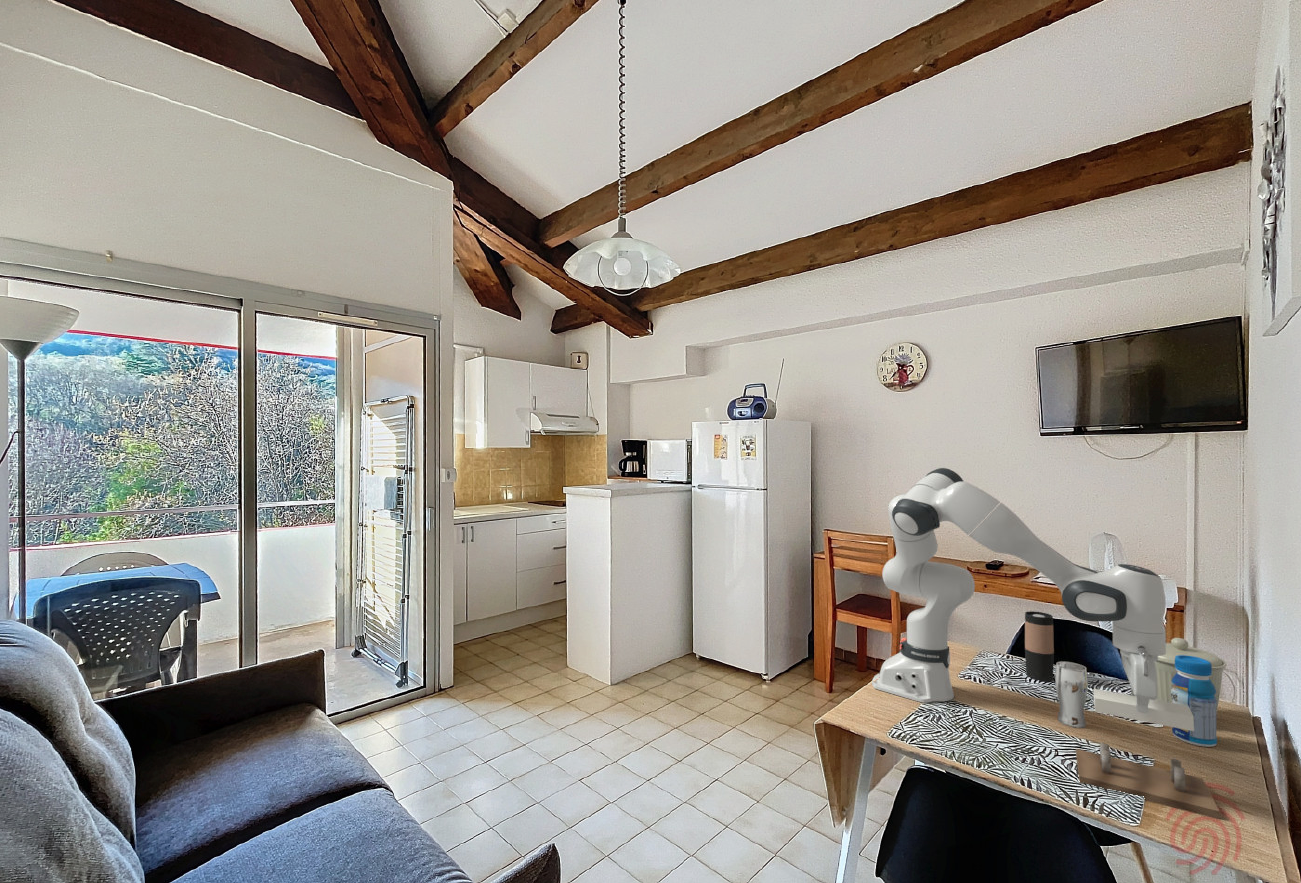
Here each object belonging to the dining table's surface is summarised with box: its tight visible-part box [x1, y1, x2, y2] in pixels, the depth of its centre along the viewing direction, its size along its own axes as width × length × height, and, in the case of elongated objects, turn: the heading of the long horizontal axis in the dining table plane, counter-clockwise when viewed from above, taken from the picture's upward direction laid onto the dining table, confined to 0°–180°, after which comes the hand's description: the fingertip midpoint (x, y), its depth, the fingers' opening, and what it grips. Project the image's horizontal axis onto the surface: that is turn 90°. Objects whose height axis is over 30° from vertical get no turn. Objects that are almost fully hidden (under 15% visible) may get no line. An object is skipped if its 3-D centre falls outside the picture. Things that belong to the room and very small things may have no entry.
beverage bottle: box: [1171, 655, 1218, 748], centre depth 144 cm, size 8×8×20 cm
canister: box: [1154, 637, 1227, 714], centre depth 158 cm, size 18×18×21 cm
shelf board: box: [1093, 688, 1194, 731], centre depth 125 cm, size 6×16×3 cm, turn 54°
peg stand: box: [1075, 742, 1221, 820], centre depth 125 cm, size 22×14×6 cm, turn 56°
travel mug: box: [1024, 610, 1055, 682], centre depth 185 cm, size 8×8×20 cm
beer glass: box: [1054, 661, 1089, 729], centre depth 153 cm, size 7×7×15 cm
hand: (1139, 705), depth 125 cm, fingers closed on shelf board, 6 cm apart
